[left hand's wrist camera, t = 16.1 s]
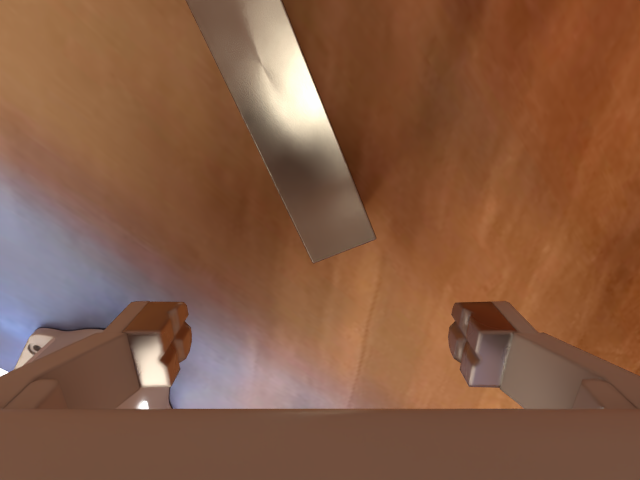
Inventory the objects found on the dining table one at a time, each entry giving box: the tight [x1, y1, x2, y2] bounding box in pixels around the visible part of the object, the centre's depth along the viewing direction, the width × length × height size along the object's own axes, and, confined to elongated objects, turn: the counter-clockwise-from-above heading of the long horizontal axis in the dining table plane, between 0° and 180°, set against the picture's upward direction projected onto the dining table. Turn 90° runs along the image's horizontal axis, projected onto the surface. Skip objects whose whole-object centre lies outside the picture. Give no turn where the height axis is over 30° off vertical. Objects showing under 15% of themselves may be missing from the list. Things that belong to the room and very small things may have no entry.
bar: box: [186, 0, 376, 263], centre depth 25 cm, size 27×5×8 cm, turn 23°
